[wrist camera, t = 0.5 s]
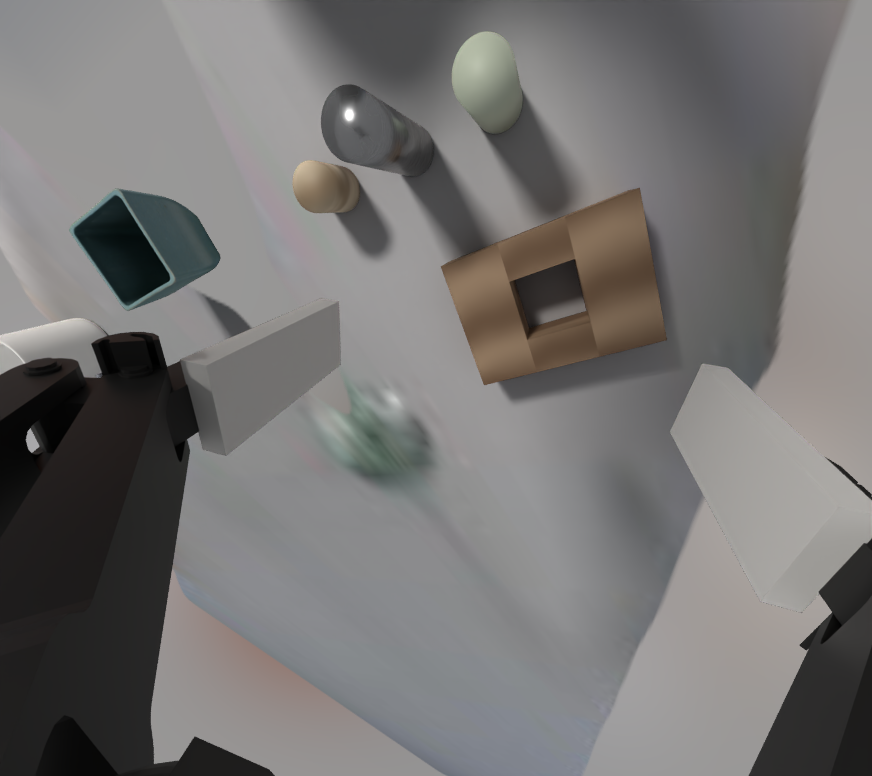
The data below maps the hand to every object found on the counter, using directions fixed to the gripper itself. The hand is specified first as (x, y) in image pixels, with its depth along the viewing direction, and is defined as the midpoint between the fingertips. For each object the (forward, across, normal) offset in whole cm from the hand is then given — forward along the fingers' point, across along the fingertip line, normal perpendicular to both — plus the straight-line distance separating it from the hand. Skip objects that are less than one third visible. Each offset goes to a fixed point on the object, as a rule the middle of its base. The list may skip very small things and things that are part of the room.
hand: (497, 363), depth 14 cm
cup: (+25, -60, -21) cm, 68 cm away
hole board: (+24, +3, -2) cm, 24 cm away
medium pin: (+24, -5, +12) cm, 28 cm away
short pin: (+24, -19, +5) cm, 31 cm away
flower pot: (+25, -38, -3) cm, 45 cm away
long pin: (+24, -12, +8) cm, 29 cm away
